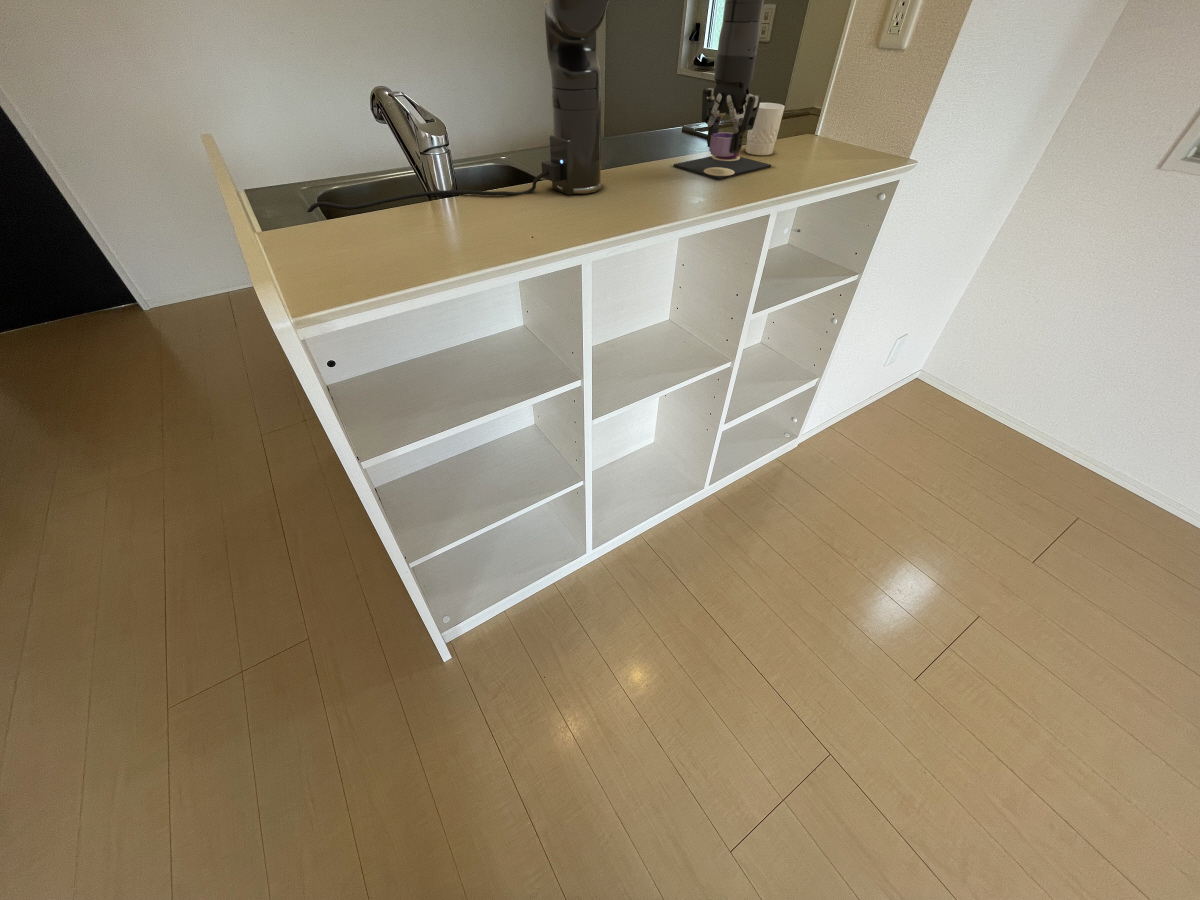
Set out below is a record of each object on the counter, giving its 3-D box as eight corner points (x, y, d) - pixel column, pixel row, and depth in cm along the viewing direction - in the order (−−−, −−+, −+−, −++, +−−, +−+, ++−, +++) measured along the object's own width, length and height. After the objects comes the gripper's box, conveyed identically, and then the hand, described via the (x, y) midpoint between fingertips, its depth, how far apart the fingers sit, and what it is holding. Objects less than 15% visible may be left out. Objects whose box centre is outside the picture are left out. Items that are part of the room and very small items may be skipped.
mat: (719, 180, 109) (719, 177, 109) (672, 166, 118) (672, 163, 118) (772, 167, 118) (772, 164, 117) (724, 155, 126) (725, 152, 126)
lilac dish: (723, 158, 107) (726, 139, 105) (703, 153, 111) (705, 134, 108) (741, 154, 110) (744, 135, 107) (721, 149, 113) (723, 131, 111)
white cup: (778, 156, 125) (788, 108, 118) (746, 156, 125) (754, 108, 119) (770, 149, 131) (780, 102, 124) (740, 148, 131) (748, 102, 124)
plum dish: (727, 161, 119) (729, 144, 117) (708, 156, 123) (711, 139, 120) (743, 157, 122) (746, 141, 119) (725, 152, 125) (727, 136, 123)
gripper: (696, 50, 101) (687, 146, 112) (753, 56, 92) (736, 159, 104) (722, 48, 104) (710, 141, 116) (779, 53, 96) (760, 153, 107)
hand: (723, 149), depth 110 cm, fingers closed on lilac dish, 6 cm apart
